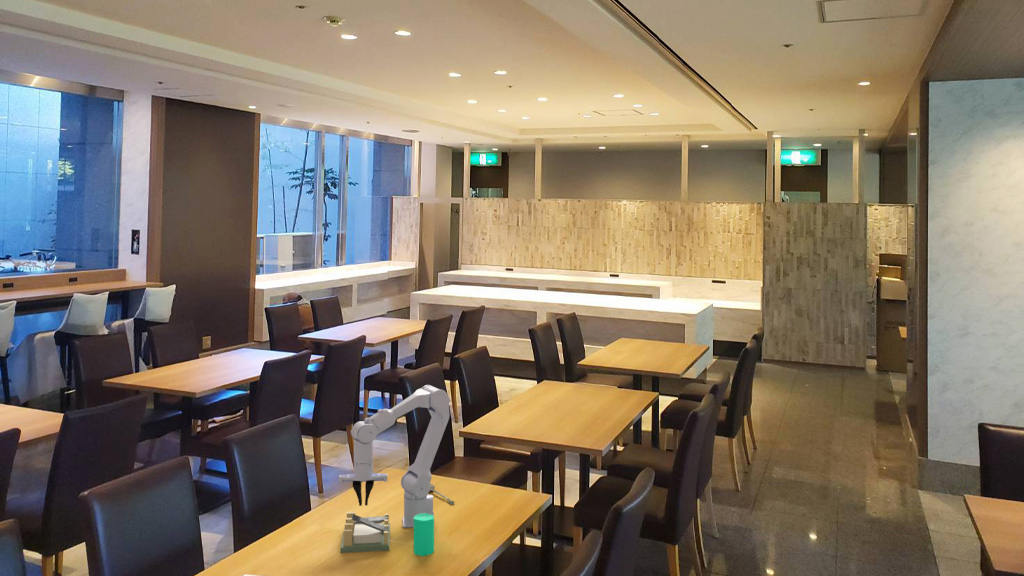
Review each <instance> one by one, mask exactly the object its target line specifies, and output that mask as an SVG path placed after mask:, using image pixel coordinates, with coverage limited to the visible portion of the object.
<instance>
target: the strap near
mask: <svg viewBox="0 0 1024 576" xmlns="http://www.w3.org/2000/svg"><path fill="white" fill-rule="evenodd" d="M352 520H354V521H356V522H359V523H361V524H364V525H366V526H369V527H371V528H374V529H376V530H379V531H381V532H384V531H388V527H385V526H382V525H380V524H377V523H375V522H372V521H370V520H367V519H365V518H364V517H362V516H360V515H357V514H356V513H355V514H353V515H352Z"/></svg>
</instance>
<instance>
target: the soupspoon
mask: <svg viewBox="0 0 1024 576" xmlns="http://www.w3.org/2000/svg"><path fill="white" fill-rule="evenodd" d="M435 487H436V486H435V485H434V484H432V483H430V491H431V492H433V493H435V494H437V495H438V496H441V497H443V498H444V499H445V500H446V501H447V502H448V503H449V505H454V504H455V501H454V500H451V499H450V498H449V497H447V496H446V495H444V494H442V493H441V492H439V491H437V490H436V489H435Z"/></svg>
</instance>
